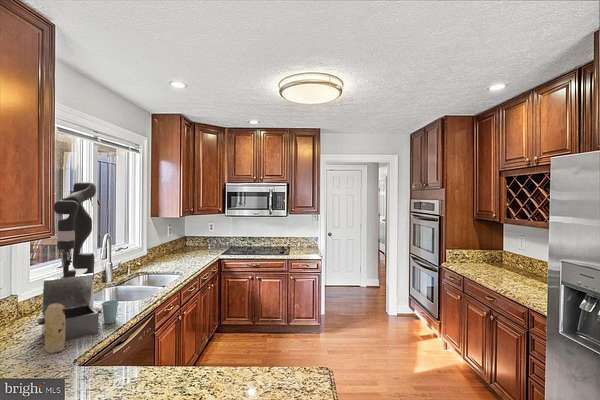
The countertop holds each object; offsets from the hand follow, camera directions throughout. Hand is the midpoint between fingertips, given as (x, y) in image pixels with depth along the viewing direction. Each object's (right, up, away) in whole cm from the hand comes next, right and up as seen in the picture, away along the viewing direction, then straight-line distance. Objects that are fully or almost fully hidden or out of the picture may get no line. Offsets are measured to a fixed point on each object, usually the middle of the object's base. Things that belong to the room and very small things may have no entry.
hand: (65, 273), depth 180 cm
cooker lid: (+4, -8, -5) cm, 10 cm away
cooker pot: (+8, -28, -9) cm, 30 cm away
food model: (+14, -28, -28) cm, 42 cm away
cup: (+18, -28, +8) cm, 34 cm away
